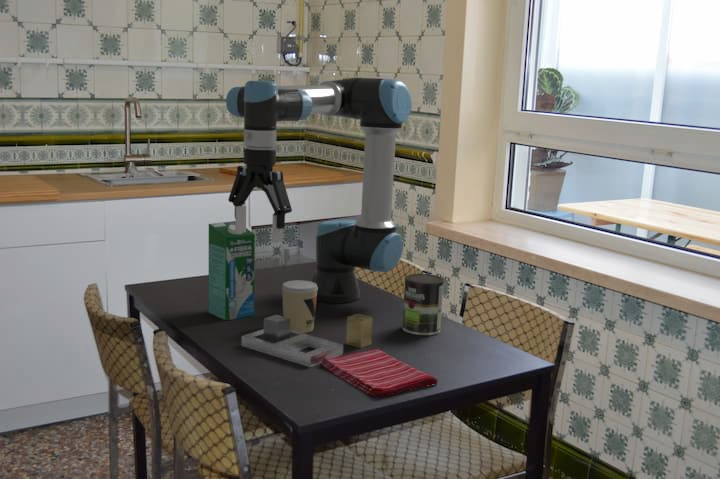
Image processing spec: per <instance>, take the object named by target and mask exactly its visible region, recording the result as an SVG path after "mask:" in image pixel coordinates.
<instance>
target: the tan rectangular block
mask: <svg viewBox="0 0 720 479" xmlns="http://www.w3.org/2000/svg"><path fill="white" fill-rule="evenodd" d="M373 319H374V318H373V317H372V316H370V315H365V314H362V313H355V314H352V315H350V316H347V317H346V335H345V337H346V338H345V340H346V342H345V344H346V345H348V346H351V347H355V348H357V349H358V348H359V349H363V348H366V347H368V346H370V345H372V343H373V342H372V339H373V338H372V336H373Z"/></svg>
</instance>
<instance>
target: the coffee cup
mask: <svg viewBox="0 0 720 479" xmlns="http://www.w3.org/2000/svg"><path fill="white" fill-rule="evenodd" d="M281 290H282V291H281V292H282V293H281V294H282V296H281V297H282V311H283V312H282V313H283V314H282V315H283V317H287V318H290V330H294V331H297V332H301V333H304V334H307V333H311V332H312V331H313V330H314V328H315V320H316V319H315V316H316V307H317V300H316V299H317V290H318V287H317V284H316V283H314V282H312V281H311V280H310V281H309V280H304V279H303V280H301V279H300V280H299V279H297V280H296V279H295V280H294V279H293V280H287V281H285V282H283V283H282V286H281Z"/></svg>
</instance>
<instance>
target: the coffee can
mask: <svg viewBox="0 0 720 479" xmlns="http://www.w3.org/2000/svg"><path fill="white" fill-rule="evenodd" d="M444 281H445V279H444V278H443V277H442V276H439V275H434V274H429V273H411V274H407V275H406V276H404V296H403V297H404V300H403V311H402V312H403V316H402V327H401V328H402V330H403V331H404V332H406V333H408V334H411V335H415V336H416V335H417V336H434V335H437V334H440V332H441V326H442V323H441V322H442V308H443V295H444V294H443V293H444V283H445V282H444Z"/></svg>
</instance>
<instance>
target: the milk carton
mask: <svg viewBox="0 0 720 479" xmlns="http://www.w3.org/2000/svg"><path fill="white" fill-rule="evenodd" d="M255 239H256V234H255V233H254V232H252V231H251V230H250V229H248V228H247V227H246V232H243V233H235V220H233V221H227V222H226V221H225V222H223V221H222V222H213V223H208V313H209V314H211V315H213V316H215V317H218V318H219V319H222V320H224V321H229V320H230V321H231V320H235V319H241V318H245V317H251V316H255V314H254V313H255V254H256V247H255V246H256V240H255Z"/></svg>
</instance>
